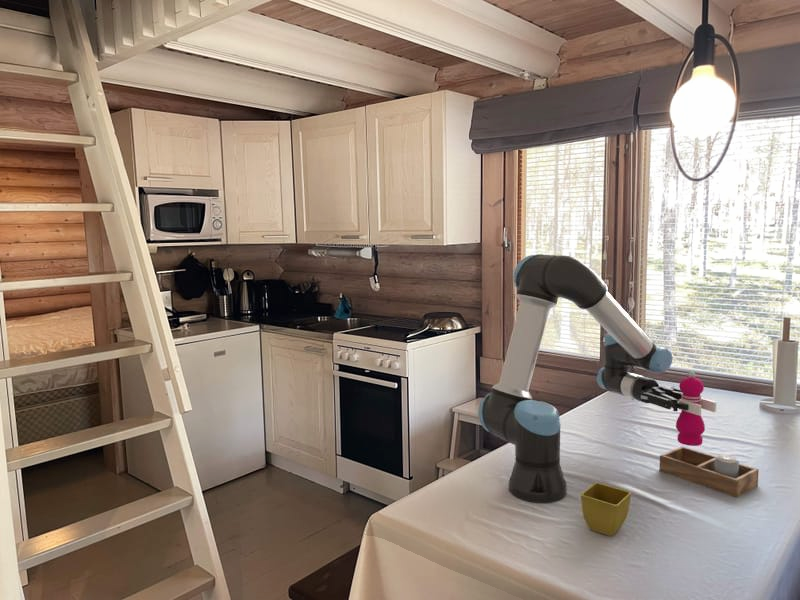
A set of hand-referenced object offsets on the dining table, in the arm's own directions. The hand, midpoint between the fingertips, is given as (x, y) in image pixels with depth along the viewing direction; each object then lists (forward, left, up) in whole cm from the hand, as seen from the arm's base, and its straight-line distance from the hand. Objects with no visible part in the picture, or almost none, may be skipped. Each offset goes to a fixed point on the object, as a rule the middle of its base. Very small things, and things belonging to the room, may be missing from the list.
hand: (707, 408), depth 159 cm
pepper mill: (+1, +5, -11) cm, 12 cm away
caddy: (+1, 0, -21) cm, 21 cm away
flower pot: (-42, 0, -21) cm, 47 cm away
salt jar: (+1, -5, -20) cm, 20 cm away
